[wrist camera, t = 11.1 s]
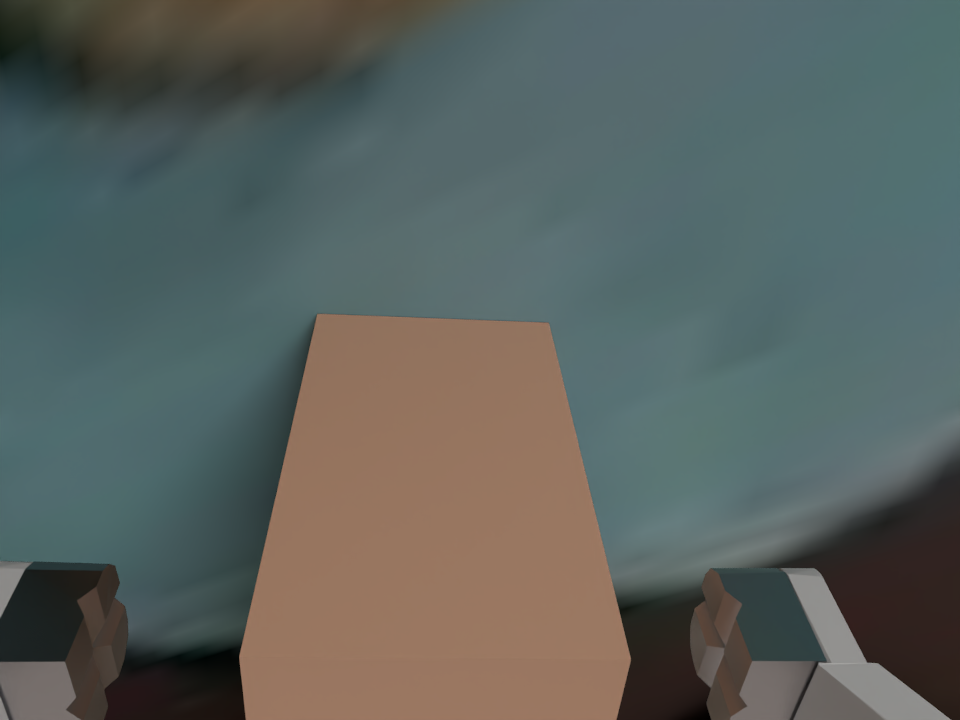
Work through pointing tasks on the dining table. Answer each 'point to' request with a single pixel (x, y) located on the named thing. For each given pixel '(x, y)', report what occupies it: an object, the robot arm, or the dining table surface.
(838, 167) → the dining table surface
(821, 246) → the dining table surface
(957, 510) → the dining table surface
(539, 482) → the domino
